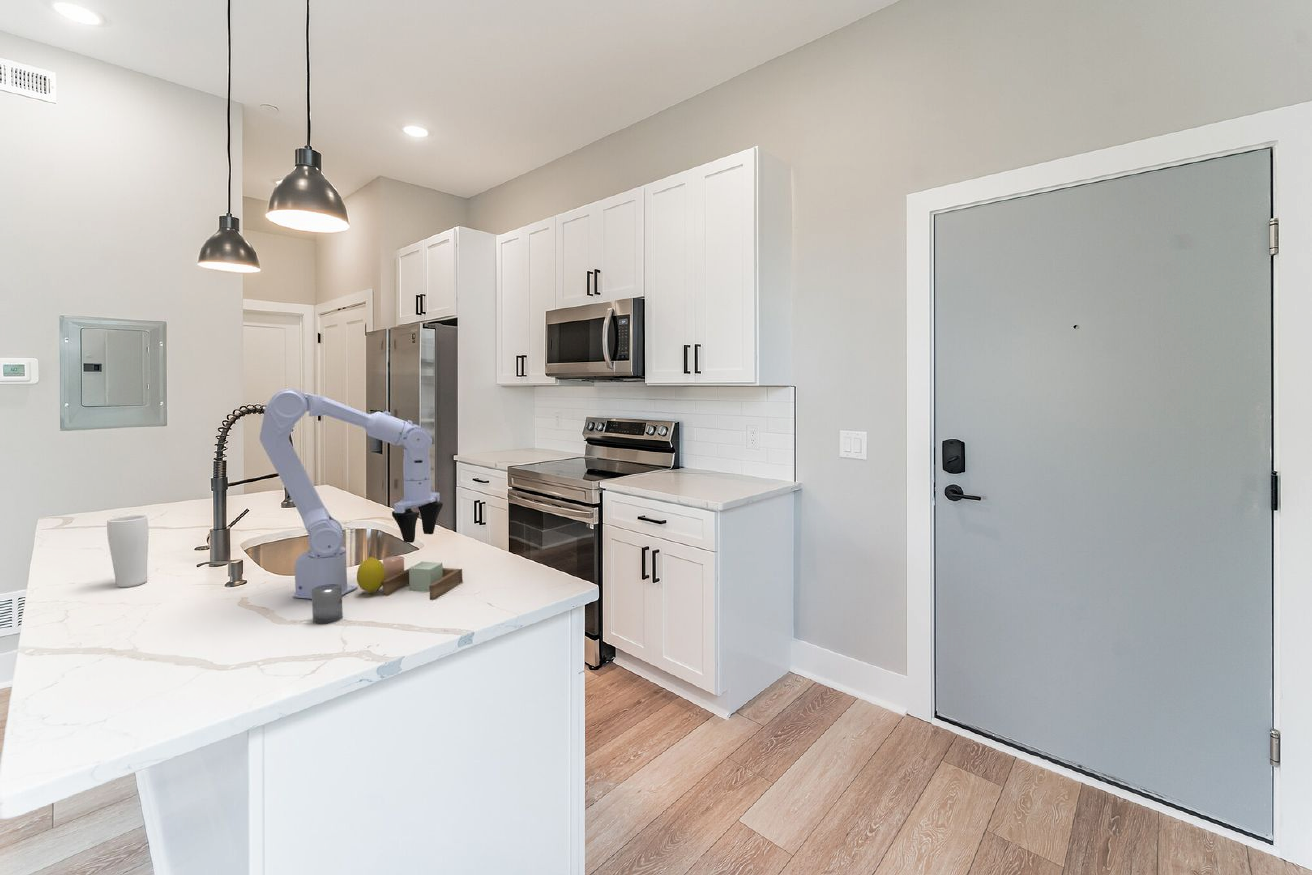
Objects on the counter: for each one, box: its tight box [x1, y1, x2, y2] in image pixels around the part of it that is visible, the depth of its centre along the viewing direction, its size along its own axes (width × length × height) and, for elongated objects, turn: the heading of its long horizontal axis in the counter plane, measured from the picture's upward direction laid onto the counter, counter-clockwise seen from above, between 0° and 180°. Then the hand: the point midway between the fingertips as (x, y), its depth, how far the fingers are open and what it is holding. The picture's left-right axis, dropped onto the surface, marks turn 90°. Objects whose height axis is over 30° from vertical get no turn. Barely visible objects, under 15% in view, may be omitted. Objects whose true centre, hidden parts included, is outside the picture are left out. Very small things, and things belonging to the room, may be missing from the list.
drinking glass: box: [106, 514, 149, 588], centre depth 132 cm, size 7×7×15 cm
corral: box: [382, 567, 463, 601], centre depth 131 cm, size 12×12×3 cm
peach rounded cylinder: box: [382, 555, 405, 580], centre depth 136 cm, size 4×4×5 cm
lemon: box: [356, 556, 386, 595], centre depth 127 cm, size 6×6×8 cm
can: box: [311, 584, 344, 625], centre depth 113 cm, size 5×5×6 cm
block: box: [408, 561, 443, 593], centre depth 131 cm, size 5×5×5 cm
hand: (419, 537), depth 135 cm, fingers open, 7 cm apart
